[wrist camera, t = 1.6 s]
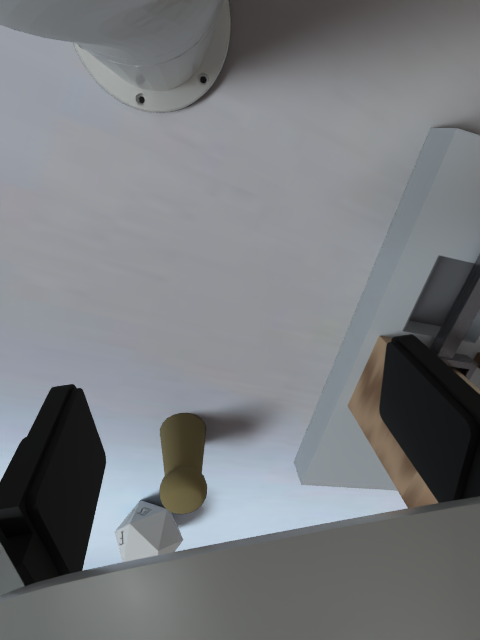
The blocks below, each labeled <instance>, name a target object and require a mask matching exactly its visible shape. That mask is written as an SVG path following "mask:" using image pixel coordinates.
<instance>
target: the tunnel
mask: <svg viewBox="0 0 480 640" xmlns="http://www.w3.org/2000/svg"><path fill="white" fill-rule="evenodd" d="M391 340H392V338H390V337H384V336H379V337H378V339H377V341H376V344H375V346H374V348H373V350H372V353H371V355H370V357H369V359H368V361H367V364H366V366H365V368H364V370H363V372H362V375H361V377H360V379H359V381H358V383H357V386H356V388H355V390H354V392H353V394H352V397H351V399H350V401H349V403H348V408H349V409H350V411H351V413H352V414H353V416H354V418H355V419H356V421H357V423H358V424H359V426H360V428H361V429H362V431H363V433H364V435H365V436H366V438H367V440H368V441H369V443H370V445H371V446H372V448H373V450H374V451H375V453H376V455H377V456H378V458H379V460H380V462H381V463H382V465H383V467H384V468H385V470H386V472H387V473H388V475H389V477H390V478H391V480H392V482H393V483H394V485H395V487H396V488H397V490H398V492H399V494H400V495H401V497H402V499H403V500H404V502H405V504H406V505H407V507H408V508H413V507H419V506H424V505H430V504H436V503H438V501H437V500H436V498H435V497H434V495H433V494H432V492H431V491H430V490H429V488H428V487H427V485H426V484H425V482H424V481H423V479H422V478H421V476H420V475H419V473H418V472H417V470H416V469H415V467H414V466H413V465H412V463H411V462H410V460H409V459H408V457H407V456H406V454H405V453H404V451H403V450H402V448H401V447H400V445H399V444H398V442H397V441H396V439H395V438H394V437H393V435H392V434H391V432H390V431H389V429H388V428H387V426H386V425H385V423H384V422H383V420H382V419H381V416H380V413H379V405H380V396H381V387H382V379H383V370H384V362H385V353H386V346H387V343H388V342H391ZM473 360H474V361H475V362H476V363H478V364H479V365H478V368H479V369H480V352H478V353H477V354H476V356H475V358H474V359H473Z"/></svg>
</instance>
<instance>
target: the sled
mask: <svg viewBox="0 0 480 640" xmlns="http://www.w3.org/2000/svg"><path fill="white" fill-rule="evenodd" d="M479 310H480V254H479V256H478V258H477V260H476V262H475V264H474V266H473V267H472V269H471V271H470V273H469V275H468V277H467V279H466V281H465V283H464V285H463V287H462V288H461V290H460V292H459V294H458V296H457V298H456V300H455V302H454V304H453V306H452V307H451V309H450V311H449V313H448V315H447V317H446V319H445V321H444V323H443V325H442V326H441V328H440V330H439V332H438V334H437V336H436V338H435V340H434V342H433V344H432V346H431V347H430V350H431V351H432V352H433V353H435V354H436V355H437V356H438V357H439V358H440V359H441V360H442V361H443V362H445V363H446V364H447V365H448V366H451V367H455V368H456V369H457V370H458V371H459V372H460V373H462V374H463V375H464V376H465V377H466V378H467V379H468V380H470V378H471V377H472V375H473V373H474V372H475V370H476V368H477V367H478V365H479V364H478V363H476V362H475V361H474V360H473V359H471V358H470V357H469V356H468V355H463V354H457V353H456V351H457V349H458V347H459V346H460V344H461V342H462V340H463V339H464V337H465V335H466V333H467V331H468V330H469V328H470V326H471V324H472V323H473V321H474V319H475V317H476V315H477V314H478V312H479Z"/></svg>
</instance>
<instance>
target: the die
mask: <svg viewBox="0 0 480 640" xmlns="http://www.w3.org/2000/svg"><path fill="white" fill-rule="evenodd" d="M115 535H116V539H117V543H118V547H119V550H120V554H121V558H122V562H127V561H131V560H136V559H141V558H146V557H152V556H157V555H162V554H167V553H172V552H175V550H176V549H177V548H178V546H179V545H180V543H181V542H182V541H183V538H182V536H181V533H180V531H179V528H178V526H177V524H176V521H175V519H174V516H173V514H172V512H170V511H168V510H167V509H166V508H163V507H160V506H157V505H154V504H151V503H148V502H145V501H142V500H140V501H139V503H138V504H137V505H136V506H135V507H134V509H133V510H132V512H130V514H129V515H128V516H127V517H126V519H125V520H124V521H123V522H122V524H121V525H120V526H119V527H118V528H117V530H116V531H115Z"/></svg>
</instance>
